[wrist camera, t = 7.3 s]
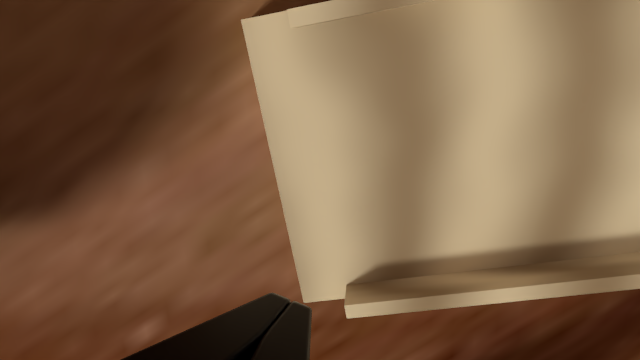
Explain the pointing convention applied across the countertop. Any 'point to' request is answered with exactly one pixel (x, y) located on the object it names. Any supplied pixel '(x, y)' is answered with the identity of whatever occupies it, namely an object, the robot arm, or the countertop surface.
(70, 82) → the countertop surface
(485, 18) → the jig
